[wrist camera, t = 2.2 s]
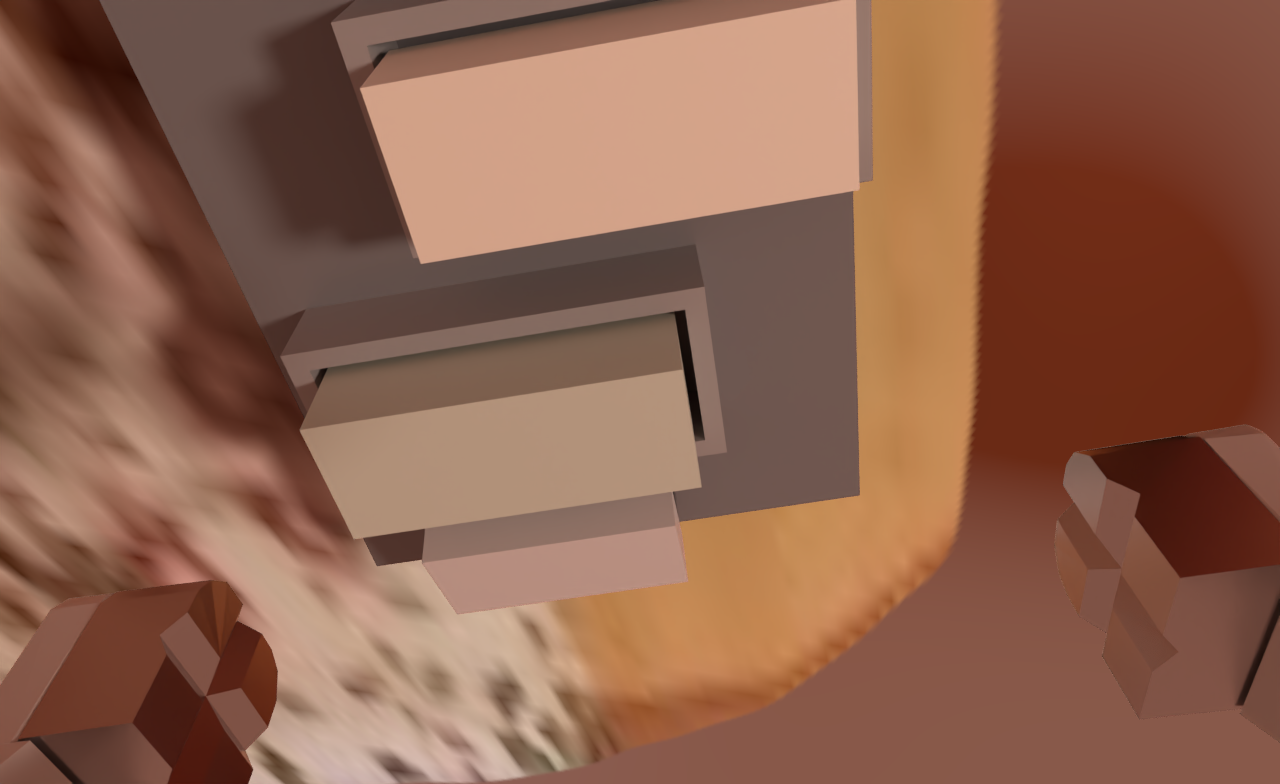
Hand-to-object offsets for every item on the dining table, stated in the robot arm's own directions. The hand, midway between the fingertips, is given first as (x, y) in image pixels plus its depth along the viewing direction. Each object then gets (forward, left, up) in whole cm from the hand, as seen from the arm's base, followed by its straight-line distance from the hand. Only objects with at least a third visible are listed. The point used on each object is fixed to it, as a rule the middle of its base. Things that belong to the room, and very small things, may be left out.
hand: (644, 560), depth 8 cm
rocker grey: (-14, -5, -14) cm, 21 cm away
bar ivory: (0, 0, -15) cm, 15 cm away
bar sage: (-9, -1, -15) cm, 18 cm away
